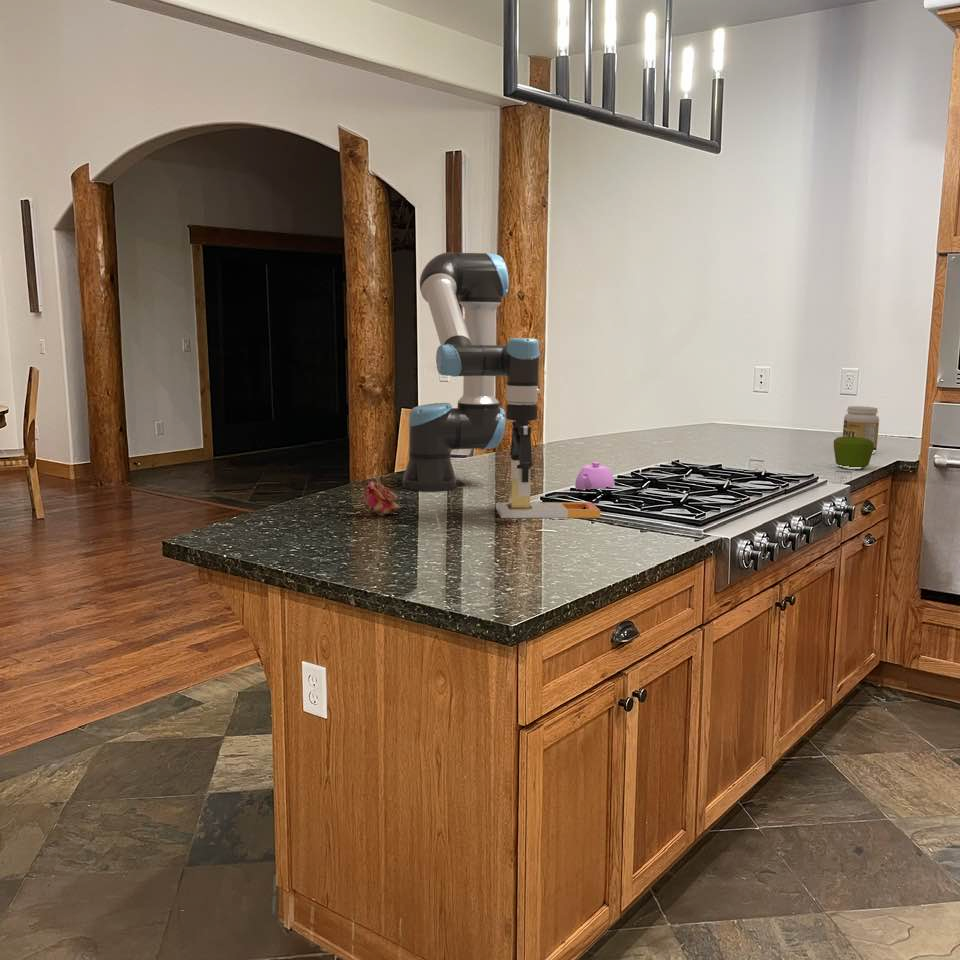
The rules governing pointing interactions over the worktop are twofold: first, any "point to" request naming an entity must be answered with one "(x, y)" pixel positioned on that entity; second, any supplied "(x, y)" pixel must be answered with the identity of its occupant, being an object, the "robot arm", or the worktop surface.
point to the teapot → (594, 477)
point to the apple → (853, 451)
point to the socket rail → (550, 510)
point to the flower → (380, 499)
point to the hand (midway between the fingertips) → (520, 491)
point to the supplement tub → (862, 423)
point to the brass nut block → (517, 497)
